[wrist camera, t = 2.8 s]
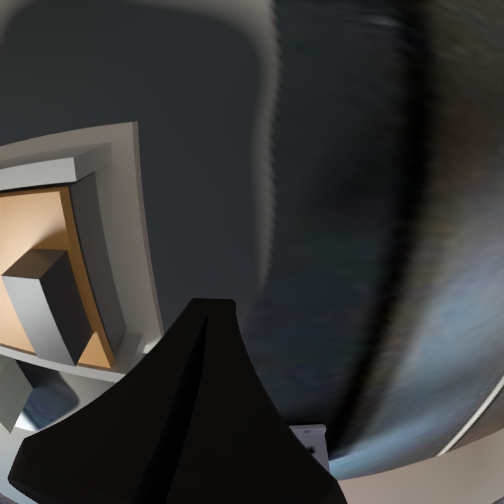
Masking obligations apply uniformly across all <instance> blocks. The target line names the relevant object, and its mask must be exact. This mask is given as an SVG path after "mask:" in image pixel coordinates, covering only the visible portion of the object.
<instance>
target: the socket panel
mask: <svg viewBox="0 0 504 504" xmlns="http://www.w3.org/2000/svg"><path fill="white" fill-rule="evenodd" d="M64 186H68V189H69V195H70V201H71V207H72V212H73V217H74V222H75V227H76V232H77V237H78V241H79V245H80V250H81V254H82V258H83V262H84V266H85V270H86V273H87V277H88V281H89V284H90V288H91V291H92V295H93V298H94V301H95V304H96V308H97V311H98V314H99V317H100V320H101V323H102V326H103V329H104V332H105V335H106V337H107V340H108V343H109V346H110V348H111V351H112V354H113V356H114V359H115V360H114V362H113V364H112V367H111V368H107V367H101V366H95V365H89V364H84V363H79V362H78V363H77V365H76V367H74V366H69V365H65V364H60V363H56V362H52V361H47V360H43V359H40V358H38V357H37V355H36V353H34V352H31V351H27V350H23V349H19V348H16V347H12V346H9V345H5V344H2V343H0V354H2V355H5V356H8V357H11V358H14V359H18V360H21V361H24V362H28V363H31V364H35V365H39V366H42V367H46V368H50V369H54V370H58V371H62V372H67V373H71V374H75V375H80V376H85V377H90V378H95V379H100V380H105V381H111V382H118V381H119V380H120V379H122V378H123V377H124V376H125V375H126V374H127V373H128V372H129V371H130V370H132V369H133V368H134V367H135V366H136V365H137V364H138V363H139V362H140V360H141V357H142V355H143V353H148V352H149V351H150V350H151V349H152V348H153V347H154V346H155V345H156V344H157V343H158V341H159V340H160V339H161V338H162V337H163V335H164V334H165V333H164V329H163V323H162V318H161V314H160V308H159V303H158V297H157V293H156V286H155V280H154V274H153V268H152V261H151V255H150V249H149V241H148V233H147V225H146V217H145V209H144V199H143V189H142V179H141V167H140V153H139V137H138V121H135V122H125V123H117V124H109V125H102V126H95V127H88V128H82V129H76V130H70V131H65V132H60V133H54V134H49V135H45V136H40V137H35V138H31V139H27V140H22V141H18V142H14V143H10V144H7V145H3V146H0V194H2V193H9V192H17V191H25V190H34V189H43V188H53V187H64Z"/></svg>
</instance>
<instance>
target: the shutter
mask: <svg viewBox="0 0 504 504" xmlns="http://www.w3.org/2000/svg"><path fill="white" fill-rule="evenodd" d="M0 343H2V344H5V345H9V346H12V347H16V348H19V349H23V350H27V351H31V352H34V353H36V355H37V357H38V358H40V359H43V360H47V361H52V362H56V363H60V364H65V365H69V366H74V367H76V365H77V363H78V362H79V363H84V364H89V365H95V366H101V367H107V368H111V367H112V364H113V362H114V360H115V359H114V356H113V354H112V351H111V348H110V346H109V343H108V340H107V337H106V335H105V332H104V329H103V326H102V323H101V320H100V317H99V314H98V311H97V308H96V304H95V301H94V298H93V295H92V291H91V288H90V284H89V281H88V277H87V273H86V270H85V266H84V262H83V258H82V254H81V250H80V245H79V241H78V237H77V232H76V227H75V222H74V217H73V212H72V207H71V201H70V195H69V189H68V186H64V187H53V188H43V189H34V190H25V191H17V192H9V193H2V194H0Z"/></svg>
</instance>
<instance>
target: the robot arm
mask: <svg viewBox="0 0 504 504" xmlns="http://www.w3.org/2000/svg"><path fill="white" fill-rule="evenodd" d="M325 432H326V426H325V425H323V424H316V425H297V426H288V424H287V423H286V422H285V420H284V419H283V417H282V416H281V415H280V413H279V412H278V410H277V409H276V407H275V406H274V404H273V402H272V401H271V399H270V398H269V396H268V394H267V392H266V391H265V389H264V387H263V385H262V384H261V382H260V380H259V378H258V376H257V374H256V372H255V369H254V367H253V365H252V363H251V361H250V358H249V356H248V353H247V351H246V348H245V345H244V342H243V340H242V337H241V334H240V330H239V326H238V322H237V317H236V303H235V302H234V301H233V300H232V299H205V298H193V299H192V300H191V301H190V302H189V303H188V305H187V306H186V307H185V309H184V310H183V312H182V313H181V314H180V316H179V317H178V318H177V319H176V321H175V322H174V323H173V325H172V326H171V327H170V328H169V330H168V331H167V332H166V333H165V334H164V335H163V337H162V338H161V339H160V340H159V341H158V343H157V344H156V345H155V346H154V347H153V348H152V349H151V350H150V351H149V352H148V353H147V354H146V356H145V357H144V358H143V359H142V360H141V361H140V362H139V363H138V364H137V365H136V366H135V367H134V368H133V369H132V370H130V371H129V372H128V373H127V374H126V375H125V376H124V377H123V378H122V379H120V380H119V381H118V382H117V383H116V384H114V386H112V387H111V388H109V389H108V390H107V391H106V392H104V393H103V394H102V395H101V396H99V397H98V398H97V399H95V400H94V401H93V402H91V403H89V404H88V405H86V406H85V407H83V408H82V409H80V410H78V411H77V412H75V413H74V414H72V415H70V416H69V417H67V418H65V419H64V420H62V421H60V422H58V423H56V424H54V425H52V426H50V427H48V428H46V429H44V430H42V431H40V432H38V433H36V434H33V435H31V436H29V437H27V438H24V440H23V442H22V444H21V446H20V448H19V450H18V453H17V455H16V457H15V460H14V462H13V465H12V467H11V470H10V473H9V475H8V481H9V483H10V484H11V485H12V486H13V487H15V488H16V489H17V490H18V491H20V492H21V493H23V494H24V495H26V496H27V497H29V498H30V499H32V500H33V501H35V502H37V503H38V504H347V501H346V499H345V496H344V494H343V492H342V490H341V488H340V486H339V484H338V482H337V480H336V479H335V478H334V477H333V476H332V475H331V474H330V469H329V462H328V455H327V448H326V441H325ZM0 504H18V503H16V502H14V501H12V500H11V499H9V498H7V497H6V496H4V495H2V494H1V493H0ZM492 504H504V497H502V498H500V499H499V500H497V501H495V502H494V503H492Z"/></svg>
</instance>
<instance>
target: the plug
mask: <svg viewBox="0 0 504 504" xmlns="http://www.w3.org/2000/svg"><path fill="white" fill-rule="evenodd" d="M32 390H33V388H32V386H31V385H30V383H29V381H28V380H27V378H26V377H25V375H24V374H23V372H22V370H21V369H20V367H19V366H18V364H17V362H16V361H15V359H14V358H11V357H8V356H5V355H2V354H0V429H2V430H4V431H6V432H8V433H11V431H12V429H13V427H14V425H15V423H16V421H17V419H18V417H19V415H20V413H21V411H22V409H23V407H24V405H25V403H26V401H27V399H28V397H29V396H30V394H31V392H32Z"/></svg>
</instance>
